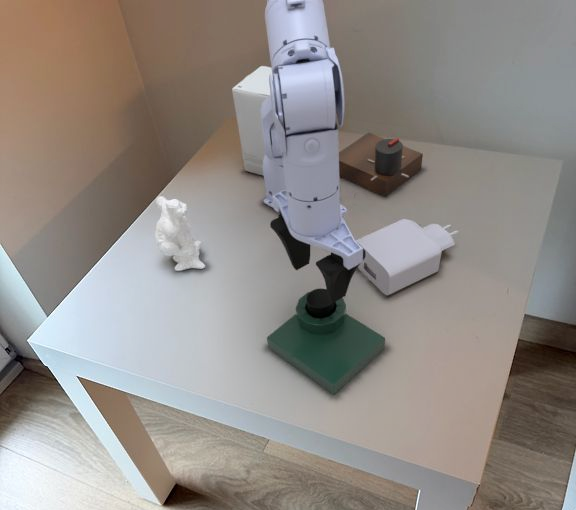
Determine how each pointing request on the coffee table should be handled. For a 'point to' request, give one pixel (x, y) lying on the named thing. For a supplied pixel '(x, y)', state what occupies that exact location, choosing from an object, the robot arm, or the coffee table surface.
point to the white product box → (252, 116)
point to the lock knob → (388, 156)
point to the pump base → (326, 345)
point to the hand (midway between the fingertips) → (319, 281)
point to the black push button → (319, 304)
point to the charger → (403, 253)
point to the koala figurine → (176, 235)
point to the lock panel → (361, 165)
